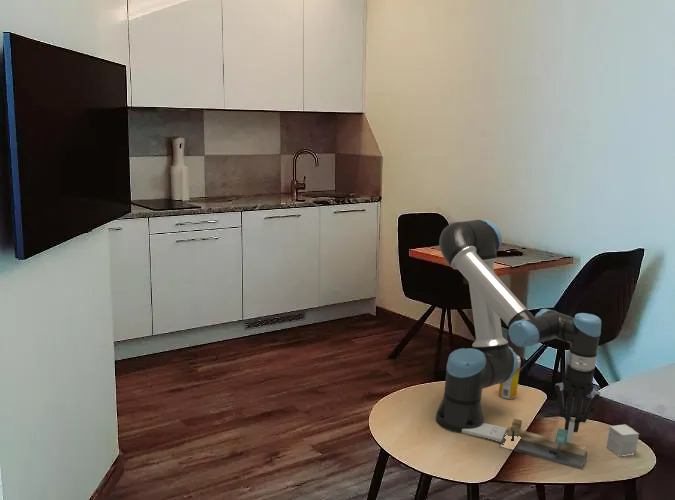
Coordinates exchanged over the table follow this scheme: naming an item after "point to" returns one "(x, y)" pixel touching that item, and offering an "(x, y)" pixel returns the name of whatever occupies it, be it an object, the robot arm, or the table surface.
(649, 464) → the table surface
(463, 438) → the table surface
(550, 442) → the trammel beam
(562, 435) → the block
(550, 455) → the bolt plate
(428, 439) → the table surface
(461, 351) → the robot arm
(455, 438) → the table surface
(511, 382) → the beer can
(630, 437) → the product box
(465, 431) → the external hard drive
